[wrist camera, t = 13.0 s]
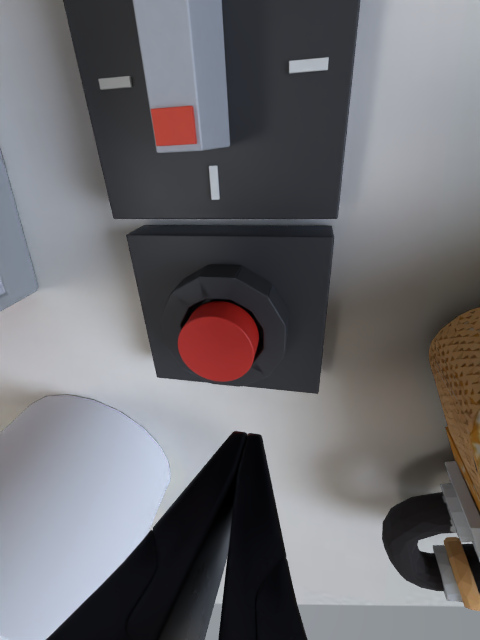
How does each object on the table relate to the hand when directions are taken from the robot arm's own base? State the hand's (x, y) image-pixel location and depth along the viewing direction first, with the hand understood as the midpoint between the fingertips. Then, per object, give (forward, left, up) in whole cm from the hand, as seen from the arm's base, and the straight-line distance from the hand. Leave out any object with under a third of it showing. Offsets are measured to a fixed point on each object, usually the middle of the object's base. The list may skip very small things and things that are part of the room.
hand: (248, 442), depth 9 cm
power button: (+2, -3, -8) cm, 9 cm away
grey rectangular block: (-10, -3, -9) cm, 14 cm away
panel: (-10, -3, -12) cm, 16 cm away
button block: (+2, -3, -12) cm, 12 cm away
